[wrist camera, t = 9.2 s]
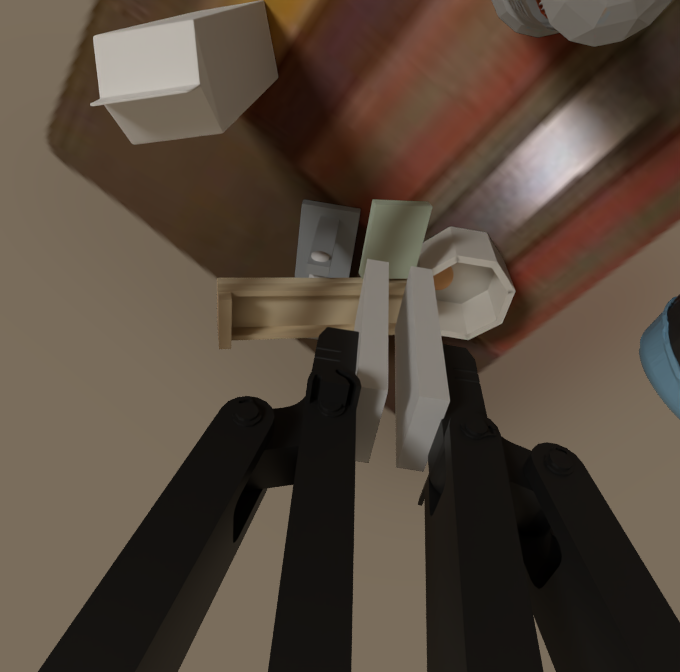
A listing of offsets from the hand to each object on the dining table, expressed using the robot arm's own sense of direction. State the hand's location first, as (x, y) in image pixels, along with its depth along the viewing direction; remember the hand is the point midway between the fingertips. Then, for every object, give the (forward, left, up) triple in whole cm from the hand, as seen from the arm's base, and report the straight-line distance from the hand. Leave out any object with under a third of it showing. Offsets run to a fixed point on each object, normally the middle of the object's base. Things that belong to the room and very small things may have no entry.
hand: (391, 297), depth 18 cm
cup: (-11, +16, -34) cm, 39 cm away
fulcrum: (+4, +16, -34) cm, 38 cm away
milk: (+14, -2, -35) cm, 37 cm away
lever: (+4, +12, -23) cm, 27 cm away
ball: (-8, +16, -32) cm, 37 cm away
